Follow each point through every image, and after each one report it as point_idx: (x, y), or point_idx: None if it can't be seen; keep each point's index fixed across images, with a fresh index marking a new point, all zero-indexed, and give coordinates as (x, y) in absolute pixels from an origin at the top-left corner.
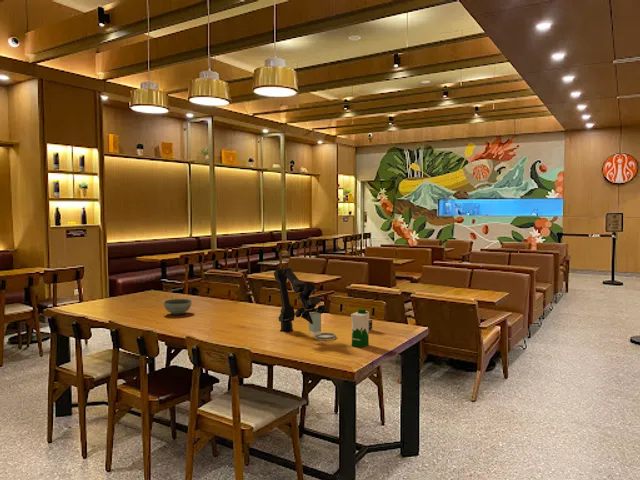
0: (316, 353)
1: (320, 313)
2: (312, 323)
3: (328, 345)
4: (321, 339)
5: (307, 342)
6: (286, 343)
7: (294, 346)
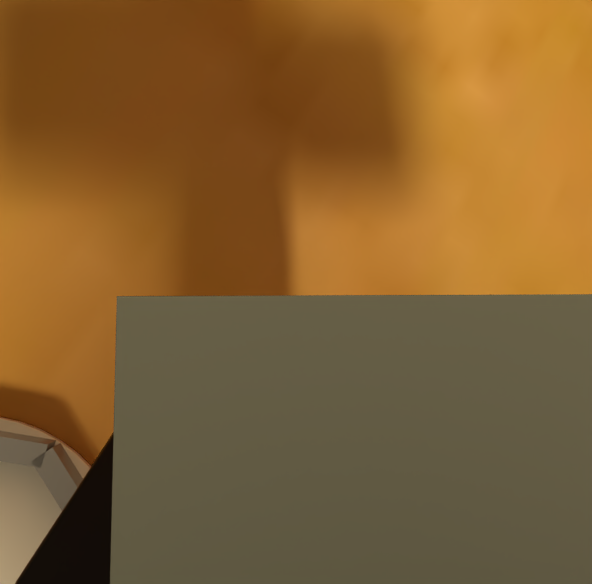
0: (455, 29)
1: (136, 345)
2: None
3: (181, 189)
4: None
5: None
6: None
7: None
